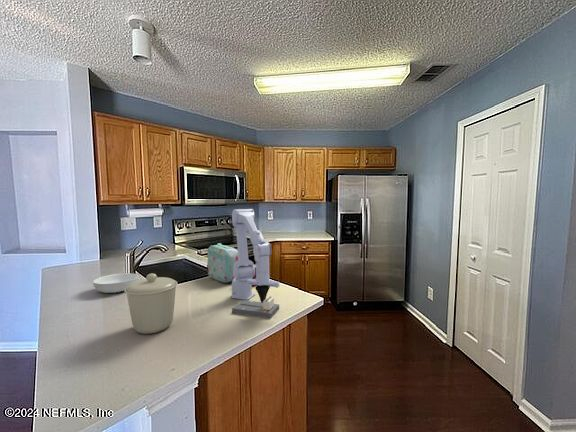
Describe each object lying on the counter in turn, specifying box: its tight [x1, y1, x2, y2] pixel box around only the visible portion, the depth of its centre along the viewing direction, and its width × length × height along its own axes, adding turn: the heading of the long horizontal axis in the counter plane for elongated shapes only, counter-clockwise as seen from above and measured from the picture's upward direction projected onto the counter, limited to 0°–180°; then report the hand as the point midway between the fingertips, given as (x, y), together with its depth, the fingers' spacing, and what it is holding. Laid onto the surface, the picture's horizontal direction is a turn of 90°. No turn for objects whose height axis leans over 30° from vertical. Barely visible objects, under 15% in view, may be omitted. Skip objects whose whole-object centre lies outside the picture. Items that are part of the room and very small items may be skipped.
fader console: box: [231, 299, 280, 319], centre depth 120 cm, size 18×10×2 cm, turn 71°
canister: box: [123, 273, 179, 335], centre depth 104 cm, size 18×18×21 cm
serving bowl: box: [92, 272, 140, 294], centre depth 148 cm, size 21×21×7 cm
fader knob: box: [263, 295, 275, 310], centre depth 118 cm, size 3×5×4 cm, turn 161°
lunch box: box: [206, 242, 238, 284], centre depth 166 cm, size 27×10×21 cm, turn 43°
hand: (263, 301), depth 118 cm, fingers closed
